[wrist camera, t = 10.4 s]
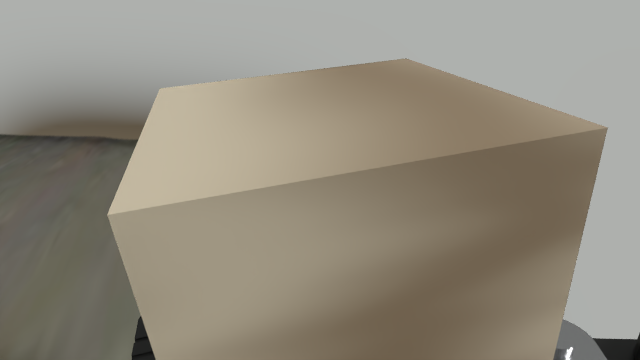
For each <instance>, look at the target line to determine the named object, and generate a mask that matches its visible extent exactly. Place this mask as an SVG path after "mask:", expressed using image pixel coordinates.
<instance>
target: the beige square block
mask: <svg viewBox="0 0 640 360" xmlns="http://www.w3.org/2000/svg"><path fill="white" fill-rule="evenodd" d="M607 129H608V128H607V127H604V126H601V125H598V124H595V123H592V122H590V121H587V120H584V119H581V118H578V117H575V116H572V115H569V114H566V113H563V112H561V111H557V110H555V109H552V108H549V107H546V106H543V105H540V104H537V103H534V102H531V101H528V100H525V99H523V98H520V97H517V96H514V95H511V94H508V93H505V92H502V91H499V90H496V89H493V88H490V87H488V86H485V85H482V84H479V83H476V82H473V81H470V80H467V79H464V78H461V77H458V76H456V75H453V74H450V73H447V72H444V71H441V70H438V69H435V68H432V67H429V66H426V65H423V64H421V63H417V62H415V61H412V60H409V59H398V60H390V61H382V62H374V63H365V64H357V65H349V66H342V67H333V68H324V69H317V70H308V71H301V72H292V73H283V74H275V75H268V76H259V77H251V78H242V79H234V80H226V81H218V82H210V83H201V84H194V85H185V86H177V87H169V88H160V90H159V92H158V95H157V97H156V99H155V102H154V104H153V107H152V109H151V111H150V114H149V116H148V119H147V121H146V124H145V126H144V128H143V131H142V133H141V135H140V138H139V140H138V143H137V145H136V147H135V150H134V152H133V155H132V157H131V159H130V162H129V164H128V167H127V169H126V171H125V174H124V176H123V179H122V181H121V183H120V186H119V188H118V191H117V193H116V195H115V198H114V200H113V203H112V205H111V207H110V210H109V212H108V218H109V221H110V224H111V227H112V230H113V233H114V236H115V239H116V242H117V245H118V248H119V251H120V254H121V257H122V260H123V263H124V266H125V269H126V272H127V275H128V278H129V281H130V284H131V287H132V290H133V293H134V296H135V299H136V302H137V305H138V308H139V311H140V314H141V317H142V320H143V323H144V326H145V329H146V332H147V335H148V338H149V341H150V344H151V347H152V350H153V353H154V356H155V359H156V360H553V358H554V354H555V350H556V345H557V341H558V337H559V333H560V328H561V324H562V320H563V315H564V311H565V307H566V303H567V298H568V294H569V290H570V286H571V282H572V277H573V273H574V268H575V265H576V260H577V256H578V252H579V248H580V243H581V238H582V235H583V230H584V226H585V222H586V218H587V213H588V209H589V205H590V201H591V196H592V192H593V188H594V184H595V180H596V175H597V171H598V167H599V163H600V158H601V154H602V149H603V146H604V141H605V137H606V133H607Z"/></svg>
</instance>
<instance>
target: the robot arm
mask: <svg viewBox="0 0 640 360" xmlns="http://www.w3.org/2000/svg"><path fill="white" fill-rule="evenodd" d="M132 360H156V359H155V356H154V353H153V350H152V347H151V344H150V341H149V338H148V335H147V332H146V329H145V326H144V323H143V320H142V317H141V316H140V318H139V319H138V325H137V330H136V335H135V343H134V346H133V351H132ZM553 360H640V334H639V336H638V339H637V340H634V339H596V338H592V337H590V336H589V335H588V334H587V333H586V332H585V331H584V330H582V329H581V328H579V327H578V326H576V325H574V324H572V323H570V322H568V321H566V320H562V324H561V328H560V333H559V337H558V341H557V345H556V350H555V354H554V358H553Z"/></svg>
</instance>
